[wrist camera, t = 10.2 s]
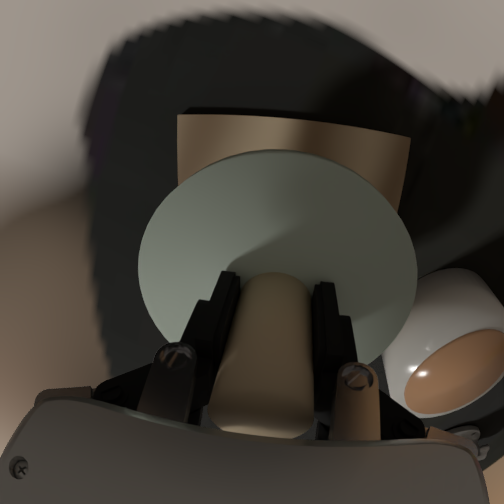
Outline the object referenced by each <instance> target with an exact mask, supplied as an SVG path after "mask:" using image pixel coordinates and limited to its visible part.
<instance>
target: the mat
mask: <svg viewBox="0 0 504 504" xmlns="http://www.w3.org/2000/svg"><path fill="white" fill-rule="evenodd" d="M410 142H411V138H409V137H405V136H401V135H396V134H391V133H386V132H381V131H376V130H371V129H365V128H359V127H353V126H347V125H340V124H334V123H326V122H318V121H310V120H301V119H291V118H280V117H267V116H250V115H225V114H180V115H178V125H177V146H178V186H179V185H180V184H182V183H183V182H184V181H185V180H186V179H188V178H189V177H190V176H191V175H193V174H194V173H196V172H198V171H199V170H201V169H202V168H204V167H206V166H207V165H209V164H212V163H214V162H216V161H218V160H221V159H223V158H225V157H228V156H232V155H236V154H240V153H243V152H247V151H256V150H264V149H287V150H296V151H302V152H307V153H313V154H316V155H319V156H322V157H325V158H328V159H331V160H334V161H336V162H338V163H340V164H342V165H344V166H346V167H348V168H350V169H352V170H353V171H355V172H356V173H357V174H359V175H360V176H362V177H363V178H365V179H366V180H367V181H369V182H370V183H371V184H372V185H373V186H374V187H375V188H376V189H377V190H378V191H379V192H380V193H381V194H382V195H383V196H384V197H385V198H386V200H387V201H388V202H389V203H390V205H391V206H392V207H393V209H394V210H395V211H396V213H397V212H398V207H399V203H400V198H401V193H402V188H403V183H404V178H405V172H406V167H407V161H408V155H409V148H410Z"/></svg>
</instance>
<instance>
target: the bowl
mask: <svg viewBox="0 0 504 504" xmlns="http://www.w3.org/2000/svg"><path fill="white" fill-rule="evenodd" d="M381 355H382V359H383V363H384V368H385V372H386V377H387V382H388V387H389V392H390V397H391V398H392V399H393V400H395V401H396V402H397V403H399V404H400V405H401V406H403V407H404V408H406V409H407V410H408V411H410V412H411V413H413V414H414V415H415V416H417V417H418V418H429V417H436V416H440V415H444V414H448V413H451V412H453V411H456V410H458V409H461V408H463V407H465V406H467V405H469V404H470V403H472V402H474V401H475V400H477V399H479V398H480V397H481V396H483V395H484V394H485V393H487V392H488V391H489V390H490V389H492V388H493V387H494V386H495V385H496V384H497V383H498V382H499V381H500V380H501V378H502V377H503V376H504V307H503V306H502V304H501V303H500V301H499V300H498V299H497V297H496V296H495V295H494V293H493V292H492V291H491V289H490V288H489V287H488V285H487V284H486V283H485V282H484V280H483V279H482V278H481V277H480V276H479V275H478V274H476V273H475V272H473V271H470V270H468V269H463V268H448V269H443V270H439V271H436V272H433V273H430V274H428V275H426V276H424V277H422V278H420V279H418V280H417V288H416V294H415V299H414V303H413V306H412V309H411V312H410V314H409V316H408V318H407V320H406V322H405V324H404V326H403V328H402V330H401V331H400V333H399V334H398V335H397V337H396V338H395V340H394V341H393V342H392V343H391V344H390V345H389V346H388V348H387V349H386V350H385V351H384V352H383V353H381Z"/></svg>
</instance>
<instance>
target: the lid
mask: <svg viewBox="0 0 504 504" xmlns="http://www.w3.org/2000/svg"><path fill="white" fill-rule="evenodd" d="M221 271H231V272H235V273H236V276H240V295H239V298H238V302H237V305H236V309H235V312H234V316H233V320H232V323H231V327H230V330H229V334H228V338H227V341H226V345H225V348H224V352H223V355H222V359H221V363H220V365H219V369H218V373H217V376H216V380H215V383H214V387H213V390H212V394H211V397H210V401H209V405H208V415H209V417H210V419H211V420H212V421H213V422H214V423H215V424H216V425H217V426H218V427H219V428H221V429H223V430H224V431H229V432H236V433H243V434H250V435H258V436H267V437H277V438H289V439H291V438H294V437H297V436H299V435H301V434H303V433H305V432H306V431H307V430H308V429H309V428H310V427H311V426H312V424H313V421H314V373H313V327H312V297H313V292H314V287H315V284H318V285H320V282H321V281H323V282H333V283H334V284H335V289H336V296H337V302H338V309H339V315H347V316H350V318H351V322H352V327H353V333H354V339H355V345H356V351H357V357H358V362H360V363H364V364H366V365H368V364H369V363H370V362H372V361H373V360H375V359H376V358H377V357H378V356H379V355H380V354H381V353H383V352H384V351H385V350H386V349H387V348H388V346H389V345H390V344H391V343H392V342H393V341H394V340H395V338H396V337H397V335H398V334H399V333H400V331H401V330H402V328H403V326H404V324H405V322H406V320H407V318H408V316H409V314H410V312H411V309H412V306H413V303H414V299H415V294H416V288H417V263H416V256H415V251H414V248H413V245H412V241H411V238H410V235H409V233H408V231H407V229H406V228H405V226H404V224H403V222H402V220H401V218H400V217H399V215H398V214H397V213H396V211H395V210H394V209H393V207H392V206H391V205H390V203H389V202H388V201H387V200H386V198H385V197H384V196H383V195H382V194H381V193H380V192H379V191H378V190H377V189H376V188H375V187H374V186H373V185H372V184H371V183H370V182H369V181H367V180H366V179H365V178H363V177H362V176H360V175H359V174H357V173H356V172H355V171H353V170H352V169H350V168H348V167H346V166H344V165H342V164H340V163H338V162H336V161H334V160H331V159H328V158H325V157H322V156H319V155H316V154H313V153H307V152H302V151H296V150H287V149H264V150H256V151H247V152H243V153H240V154H236V155H232V156H228V157H225V158H223V159H221V160H218V161H216V162H214V163H212V164H209V165H207V166H206V167H204V168H202V169H201V170H199V171H198V172H196V173H194V174H193V175H191V176H190V177H189V178H188V179H186V180H185V181H184V182H183V183H182V184H180V185H179V186H178V187H177V188H176V189H175V190H174V191H172V192H171V193H170V194H169V195H168V196H167V197H166V199H165V200H164V201H163V202H162V203H161V205H160V206H159V207H158V208H157V210H156V211H155V213H154V215H153V216H152V218H151V220H150V222H149V223H148V225H147V228H146V231H145V233H144V236H143V238H142V242H141V247H140V252H139V263H138V273H139V283H140V288H141V292H142V296H143V299H144V302H145V304H146V307H147V309H148V312H149V314H150V316H151V317H152V319H153V321H154V323H155V325H156V326H157V327H158V329H159V330H160V331H161V333H162V334H163V336H164V337H165V338H166V339H167V340H168V341H169V342H170V343H171V342H179V341H180V339H181V337H182V335H183V332H184V330H185V328H186V325H187V323H188V321H189V319H190V316H191V314H192V312H193V310H194V307H195V305H196V303H197V301H198V300H199V299H202V300H210V298H211V295H212V293H213V290H214V288H215V285H216V283H217V281H218V278H219V276H220V273H221Z"/></svg>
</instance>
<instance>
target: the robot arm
mask: <svg viewBox="0 0 504 504" xmlns="http://www.w3.org/2000/svg"><path fill="white" fill-rule="evenodd" d="M239 295H240V276H236V273H235V272H231V271H221V273H220V276H219V278H218V281H217V283H216V285H215V288H214V290H213V293H212V295H211V298H210V300H202V299H199V300H198V301H197V303H196V305H195V307H194V310H193V312H192V314H191V316H190V319H189V321H188V323H187V325H186V328H185V330H184V332H183V335H182V337H181V339H180V341H179V342H171V343H167V344H165V345H163V346H162V347H160V348H159V349H158V350H157V352H156V354H155V357H154V360H153V362H152V363H151V364H148V365H145V366H143V367H140V368H138V369H135V370H133V371H130V372H127V373H125V374H122V375H120V376H117V377H114V378H112V379H109V380H106V381H104V382H103V383H101V384H100V385H98V386H97V388H94V389H92V388H91V386H84V387H73V388H58V389H47V390H43V391H42V392H40V393H39V394H38V395H37V397H36V399H35V403H34V407H33V408H32V409H31V410H30V411H29V412H28V413H27V415H26V416H25V417H24V418H23V420H22V421H21V423H20V424H19V426H18V427H17V429H16V430H15V432H14V434H13V435H12V437H11V439H10V440H9V442H8V444H7V446H6V447H5V449H4V451H3V454H2V455H1V457H0V504H490V503H489V497H488V492H487V487H486V483H485V479H484V476H483V472H482V469H481V467H480V464H479V462H478V460H482V459H484V458H485V457H486V455H487V451H488V450H489V445H488V444H486V445H482V446H480V447H479V445H478V442H477V441H478V439H479V437H480V431H479V428H478V427H476V426H472V425H468V426H461V427H457V428H453V429H451V430H448V431H443V430H440V429H437V428H435V427H432V426H430V427H429V428H426V427H425V426H424V424H423V422H422V421H421V420H420V419H419V418H418V417H417V416H415V415H414V414H413V413H411V412H410V411H408V410H407V409H406V408H404V407H403V406H401V405H400V404H399V403H397V402H396V401H395V400H393V399H392V398H390V397H389V396H388V395H386V394H385V393H384V392H382V391H381V390H380V389H379V388H378V378H377V374H376V373H375V371H374V370H373V369H372V368H371V367H370V366H368V365H366V364H364V363H360V362H358V357H357V351H356V345H355V339H354V333H353V327H352V322H351V318H350V316H347V315H339V309H338V302H337V296H336V289H335V284H334V283H333V282H323V281H321V282H320V285H318V284H315V287H314V292H313V297H312V327H313V373H314V417H315V418H316V419H318V422H317V428H316V436H315V440H304V439H289V438H277V437H267V436H258V435H250V434H243V433H236V432H229V431H223V430H217V429H212V428H206V427H201V426H200V425H201V419H202V413H203V406H205V405H207V404H209V401H210V397H211V394H212V390H213V387H214V383H215V380H216V376H217V373H218V369H219V365H220V363H221V359H222V355H223V352H224V348H225V345H226V341H227V338H228V334H229V330H230V327H231V323H232V320H233V316H234V312H235V309H236V305H237V302H238V298H239Z"/></svg>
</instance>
